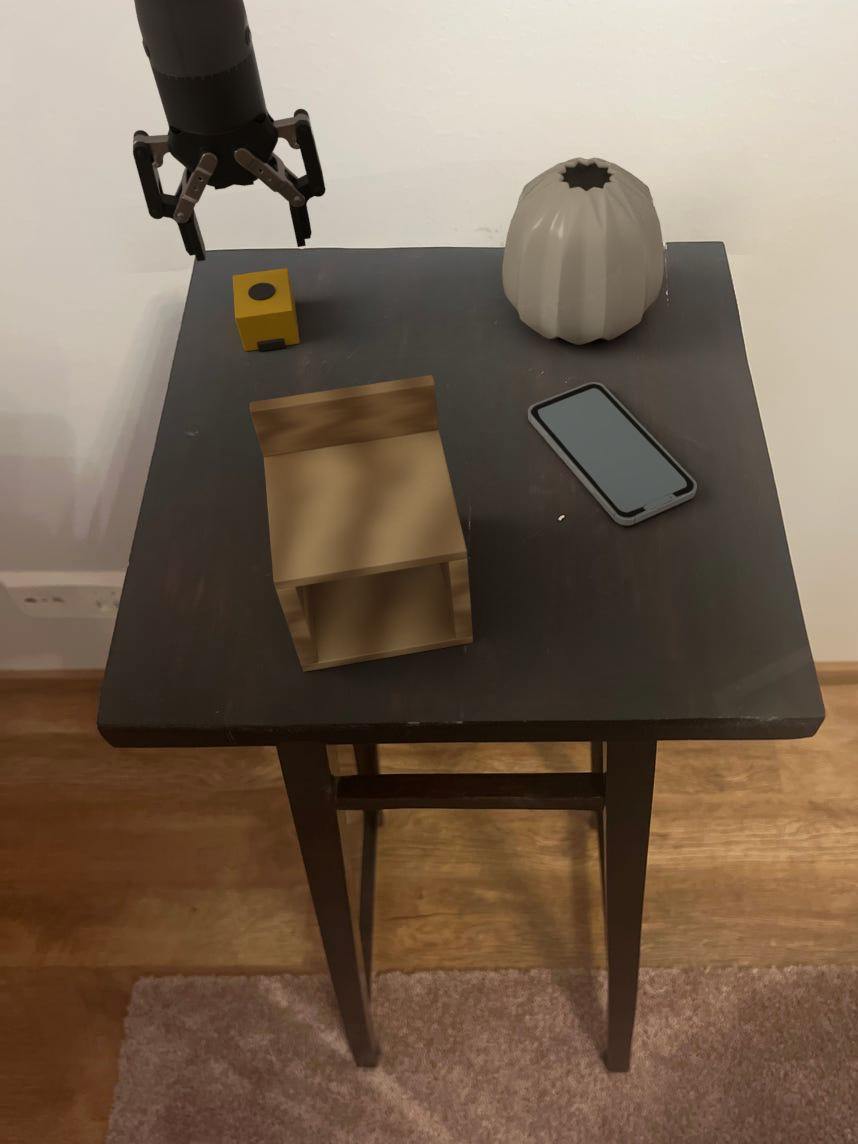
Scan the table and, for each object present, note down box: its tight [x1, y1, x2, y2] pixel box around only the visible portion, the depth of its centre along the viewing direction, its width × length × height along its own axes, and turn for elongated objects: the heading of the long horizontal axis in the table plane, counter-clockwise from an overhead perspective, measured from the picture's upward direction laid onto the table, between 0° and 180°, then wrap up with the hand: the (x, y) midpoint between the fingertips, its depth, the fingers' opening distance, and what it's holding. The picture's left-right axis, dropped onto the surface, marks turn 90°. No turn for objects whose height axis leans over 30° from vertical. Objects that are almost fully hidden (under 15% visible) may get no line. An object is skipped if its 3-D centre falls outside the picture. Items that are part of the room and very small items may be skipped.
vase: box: [501, 157, 665, 346], centre depth 84 cm, size 14×14×13 cm
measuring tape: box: [232, 267, 301, 352], centre depth 88 cm, size 5×7×4 cm
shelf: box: [249, 374, 474, 673], centre depth 66 cm, size 12×12×14 cm
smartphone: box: [527, 381, 698, 526], centre depth 78 cm, size 7×1×15 cm
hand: (251, 248), depth 84 cm, fingers open, 8 cm apart
